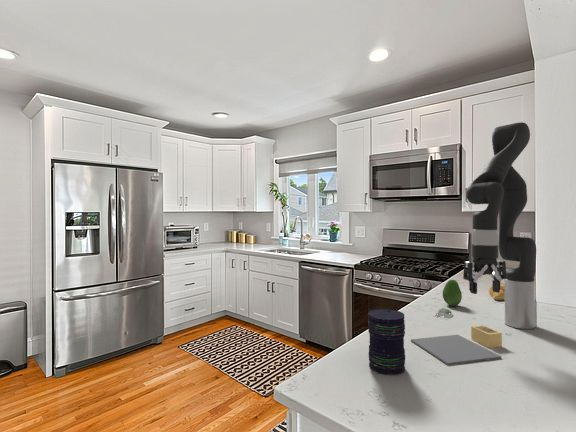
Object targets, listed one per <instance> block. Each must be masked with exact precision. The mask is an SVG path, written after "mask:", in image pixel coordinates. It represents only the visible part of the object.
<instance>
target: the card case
mask: <svg viewBox="0 0 576 432" xmlns="http://www.w3.org/2000/svg"><path fill="white" fill-rule="evenodd" d="M470 327H471V328H470V331H471V332H470V333H471V335H470V337H471V338H470V339H471V340H473V342H476V343H478V344H481V346H483V347H485V348H487V349H492V348H501V347H502V346H503V343H502V342H503V333H502V332H500V331H498V330H496V329H493V328H491V327H488V326H487V325H484V324H482V325H471V326H470Z"/></svg>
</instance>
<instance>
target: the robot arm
mask: <svg viewBox="0 0 576 432" xmlns="http://www.w3.org/2000/svg"><path fill="white" fill-rule="evenodd" d="M530 130H531V129H530V127H529V125H528V124H527V123H526V122H522V121H521V122H514V123H510V124H505V125H499V126H496V127H494V128H493V131H492V132H491V143H492V144H491V145H492V150H493V156H492V157H491V158H490V159H488V161H487V162H486V164H485V165H484V168H483V170H482V172H481V174H479V175H478V176H477V177H476V178H475V179H474V180H473V181H472V182H471V183H470V184H469V186H468V187H467V189H466V193H465V195H466V196H465V197H466V199H467V201H468V202H469V204H472V205H487V207H486V208H485V209H484V210H479V211H475V212H474V213H473V214H472V233H471V257H472V258H473V259H472V261H467V260H466V261H464V263H463V277H462V278H463V280H465V281H468V282H469V283H468V284H469V292H470V293H471V294H473V295H477V294H478V282H477V281H478V280H479V279H480V278H482V276H486V275H489V276H490V277H491V278H492V281H491V282H492V285H491V286H492V290H493V292H496V293H499V292H500V284H501V282H502V280H504V284H505V300H504V324H505V325H507V326H509V327H512V328H515V329H523V330H533V329H535V328H536V327H538V326H537V325H538V321H537V319H538V315H537V313H538V312H537V308H538V307H537V305H538V301H537V300H535V277H536V276H535V275H536V270H537V269H536V267H537V266H536V265H537V263H536V261H537V245H536V244H537V243H536V241H535V240H534V239H533V238H531V237H525V236H524V237H523V236H514V227H515V224H516V222H517V219H518V218H519V216H520V215H521V214H522V213H523V211H524V209H525V207H526V205H527V203H528V188H527V183H526V181H525V179H524V178H523V177H522V175H521V174H520V173H519V172H518V170H516V169H515V168H514V167H513V164H514V163H515V161H516V160H517V159H518V157H519V156H520V155H521V153H522V152H523V151H524V150H525V148H526V147H527V146H528V144H529V142H530V139H531V138H530V137H531V132H530ZM498 221H499V223H498ZM498 224H499V226H498ZM498 230H499V231H498ZM499 255H500V257H501V259H502V260H501V259H498V258H499ZM497 259H498V260H497ZM506 261H511V262H519V265H518V267H516V268H513V269H507V266H506V265H507V263H506Z"/></svg>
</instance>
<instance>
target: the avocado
mask: <svg viewBox="0 0 576 432" xmlns="http://www.w3.org/2000/svg"><path fill="white" fill-rule="evenodd" d="M442 298H443V301H444V303H446V304H447V305H449V306H451V307H456V306H458V305H460V304H461V302H462V298H463V295H462V291H461V288H460V284H459V283H458V281H457V280H455V279H449V280H448V281H447V282H446V283H445V285H444V287H443V289H442Z"/></svg>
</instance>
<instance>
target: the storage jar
mask: <svg viewBox="0 0 576 432" xmlns="http://www.w3.org/2000/svg"><path fill="white" fill-rule="evenodd" d="M367 323H368V328H367V331H368V333H369V334H368V335H369V345H368V362H369V363H368V367H369V368H370V370H371V371H373V372H374V373H377V374H379V375H384V376H399V375H402V374H403V373H404V372H405V371H406V366H405V365H406V350H405V339H404V338H405V334H406V332H405V330H406V323H405V314H404V312H401V311H399V310H396V309H390V308H374V309H371V310H369V311H368V321H367Z"/></svg>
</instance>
